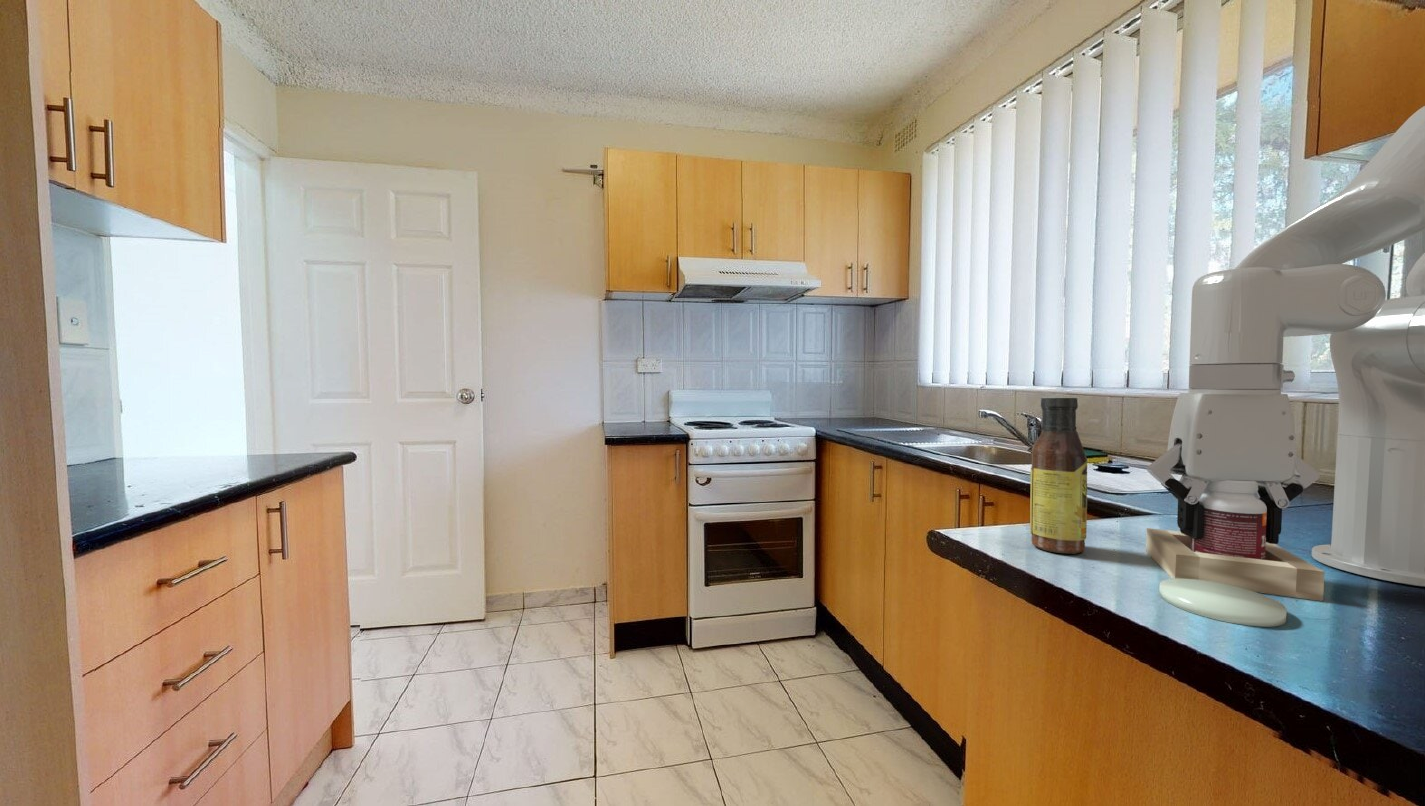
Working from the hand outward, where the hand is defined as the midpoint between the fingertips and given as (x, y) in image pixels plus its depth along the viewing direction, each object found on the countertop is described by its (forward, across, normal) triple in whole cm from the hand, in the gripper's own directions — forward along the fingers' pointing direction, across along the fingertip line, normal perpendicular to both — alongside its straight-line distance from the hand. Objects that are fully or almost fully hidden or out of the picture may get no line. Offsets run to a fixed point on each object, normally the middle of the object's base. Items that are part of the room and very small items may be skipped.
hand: (1227, 536), depth 61 cm
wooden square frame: (+4, 0, 0) cm, 4 cm away
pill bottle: (+4, 0, 0) cm, 4 cm away
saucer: (+4, +7, +11) cm, 14 cm away
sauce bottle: (+4, +16, -5) cm, 17 cm away
